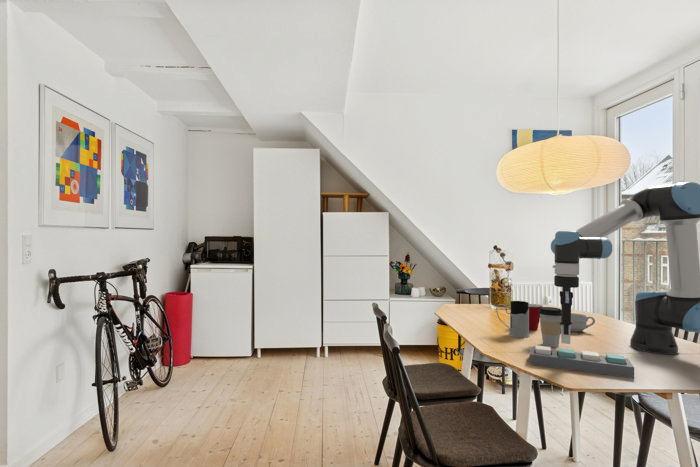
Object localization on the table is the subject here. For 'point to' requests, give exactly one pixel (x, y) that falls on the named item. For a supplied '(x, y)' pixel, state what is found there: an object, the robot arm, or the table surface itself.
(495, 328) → the table surface
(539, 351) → the white key
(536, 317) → the plastic cup
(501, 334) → the table surface
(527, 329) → the grey and black mug
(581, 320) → the teacup
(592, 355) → the white key
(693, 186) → the robot arm
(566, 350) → the teal key
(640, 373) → the table surface
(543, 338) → the coffee cup
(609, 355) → the teal key
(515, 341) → the table surface
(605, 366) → the keyboard
